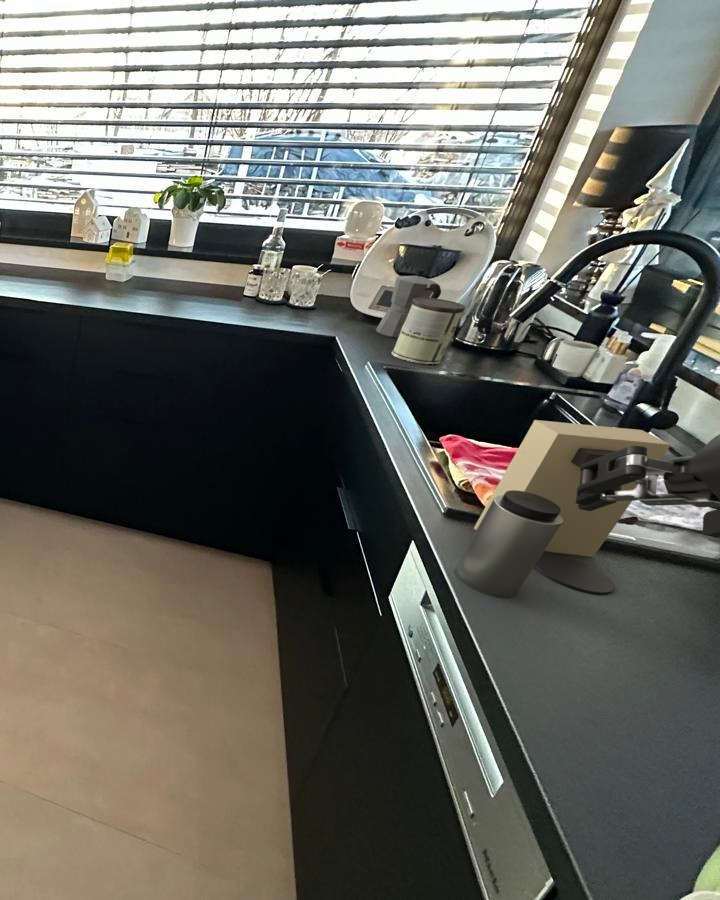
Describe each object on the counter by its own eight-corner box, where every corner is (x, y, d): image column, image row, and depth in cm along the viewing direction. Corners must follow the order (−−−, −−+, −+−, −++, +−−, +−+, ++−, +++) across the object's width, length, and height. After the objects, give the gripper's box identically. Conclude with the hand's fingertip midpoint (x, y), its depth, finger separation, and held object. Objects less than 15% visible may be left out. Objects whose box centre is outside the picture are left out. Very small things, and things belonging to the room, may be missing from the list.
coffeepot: (363, 326, 181) (387, 263, 173) (394, 327, 181) (420, 264, 173) (400, 343, 167) (429, 276, 159) (434, 344, 168) (464, 277, 159)
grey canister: (489, 578, 78) (542, 490, 72) (522, 611, 73) (583, 519, 67) (437, 572, 79) (486, 484, 73) (467, 604, 74) (521, 512, 67)
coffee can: (387, 348, 163) (409, 294, 156) (434, 355, 159) (459, 301, 152) (394, 359, 155) (418, 303, 148) (444, 367, 151) (471, 310, 144)
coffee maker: (564, 548, 85) (642, 430, 76) (646, 613, 73) (749, 483, 65) (468, 536, 86) (534, 419, 78) (535, 599, 75) (620, 470, 66)
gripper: (987, 428, 40) (753, 494, 55) (689, 384, 45) (548, 456, 60) (996, 538, 38) (751, 576, 53) (684, 480, 44) (540, 529, 58)
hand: (643, 512), depth 56 cm, fingers open, 8 cm apart
